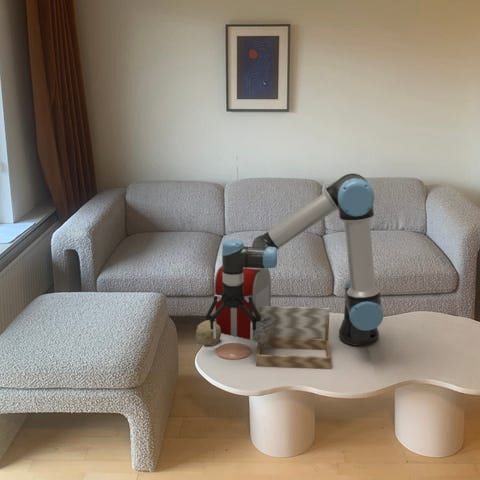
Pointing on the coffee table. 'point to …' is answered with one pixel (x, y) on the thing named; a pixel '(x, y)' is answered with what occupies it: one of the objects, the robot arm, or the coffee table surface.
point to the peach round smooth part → (233, 351)
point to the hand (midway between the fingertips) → (233, 337)
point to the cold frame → (296, 336)
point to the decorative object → (207, 334)
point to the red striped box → (235, 318)
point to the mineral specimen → (265, 330)
